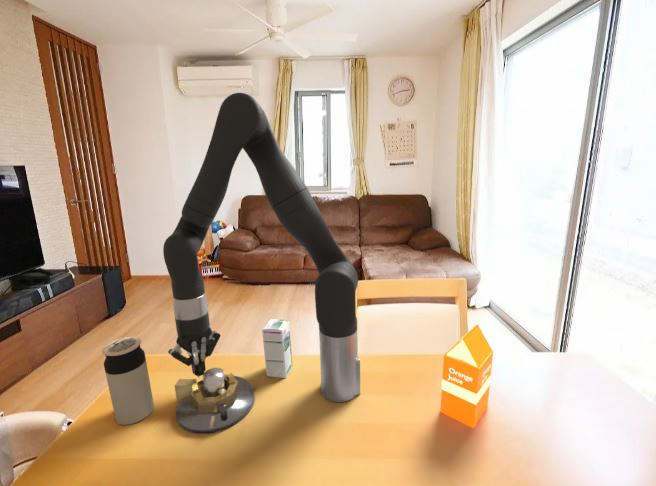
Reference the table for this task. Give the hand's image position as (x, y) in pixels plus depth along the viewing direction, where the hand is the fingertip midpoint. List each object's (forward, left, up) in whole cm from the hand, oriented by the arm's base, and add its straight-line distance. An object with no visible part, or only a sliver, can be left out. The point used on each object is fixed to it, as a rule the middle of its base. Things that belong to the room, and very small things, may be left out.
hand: (199, 374), depth 84 cm
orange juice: (-60, +23, -5) cm, 65 cm away
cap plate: (-4, +6, -5) cm, 9 cm away
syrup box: (-20, -3, -5) cm, 21 cm away
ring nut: (-2, +6, -3) cm, 7 cm away
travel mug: (+14, +4, -5) cm, 16 cm away
